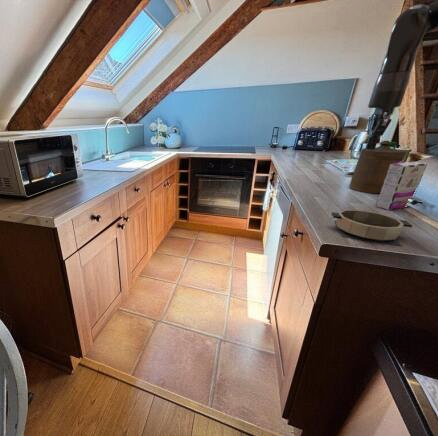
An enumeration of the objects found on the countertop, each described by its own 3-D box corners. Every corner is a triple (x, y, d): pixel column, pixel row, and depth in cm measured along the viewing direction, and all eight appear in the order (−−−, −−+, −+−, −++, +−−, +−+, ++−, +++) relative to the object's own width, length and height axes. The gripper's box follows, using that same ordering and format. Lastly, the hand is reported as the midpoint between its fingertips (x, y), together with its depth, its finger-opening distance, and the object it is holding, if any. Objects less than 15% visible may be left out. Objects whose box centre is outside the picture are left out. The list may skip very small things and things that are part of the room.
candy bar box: (394, 203, 96) (411, 161, 89) (410, 207, 91) (429, 163, 85) (373, 206, 93) (389, 163, 87) (388, 210, 89) (406, 165, 82)
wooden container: (394, 195, 104) (415, 142, 96) (351, 191, 112) (366, 141, 103) (386, 187, 116) (403, 139, 108) (347, 184, 123) (361, 138, 115)
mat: (385, 227, 75) (385, 227, 75) (401, 246, 65) (401, 245, 65) (334, 220, 81) (334, 220, 81) (341, 236, 70) (341, 236, 70)
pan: (392, 227, 75) (398, 214, 73) (415, 248, 63) (422, 232, 61) (324, 219, 82) (328, 206, 80) (333, 236, 70) (338, 222, 68)
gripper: (415, 87, 67) (392, 152, 73) (396, 91, 78) (378, 147, 84) (379, 89, 70) (360, 151, 77) (366, 92, 81) (351, 146, 87)
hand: (369, 149), depth 80 cm, fingers closed
